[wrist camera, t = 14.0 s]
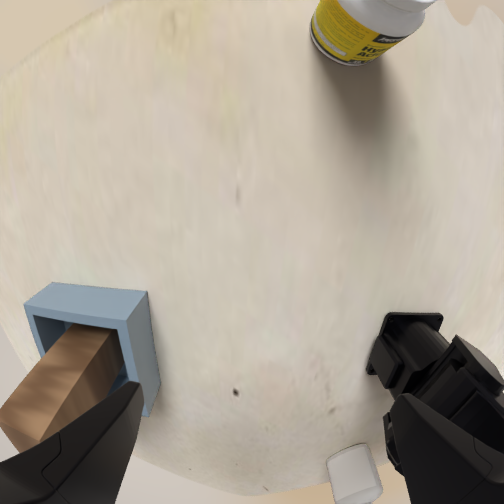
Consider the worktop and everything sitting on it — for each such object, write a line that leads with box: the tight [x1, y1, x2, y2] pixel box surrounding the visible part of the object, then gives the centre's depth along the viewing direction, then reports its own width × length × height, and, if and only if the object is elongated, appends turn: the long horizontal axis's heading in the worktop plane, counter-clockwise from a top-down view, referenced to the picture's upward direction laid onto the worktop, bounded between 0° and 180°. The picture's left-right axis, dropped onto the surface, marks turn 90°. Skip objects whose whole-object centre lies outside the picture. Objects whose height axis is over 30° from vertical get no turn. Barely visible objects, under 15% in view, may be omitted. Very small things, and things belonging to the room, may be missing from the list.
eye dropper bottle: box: [326, 444, 383, 504], centre depth 23 cm, size 4×6×12 cm
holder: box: [24, 282, 161, 417], centre depth 21 cm, size 10×10×4 cm
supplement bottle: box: [310, 0, 436, 66], centre depth 11 cm, size 5×5×10 cm
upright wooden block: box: [0, 323, 125, 453], centre depth 16 cm, size 4×4×13 cm
